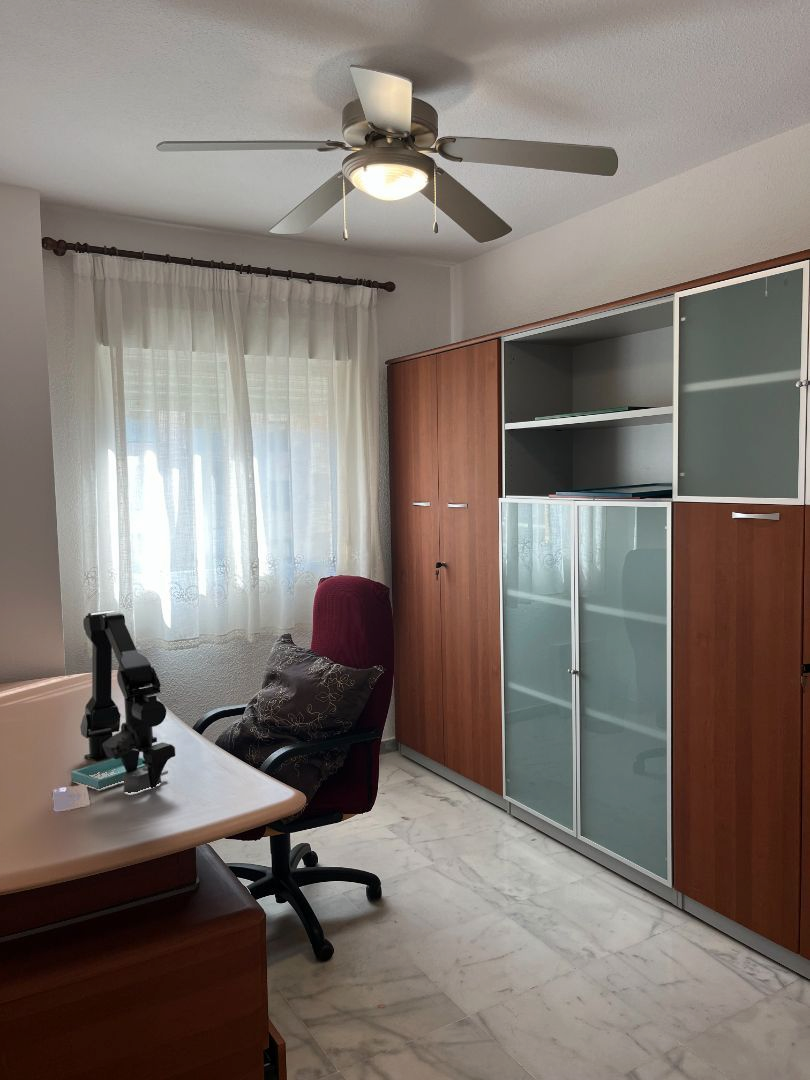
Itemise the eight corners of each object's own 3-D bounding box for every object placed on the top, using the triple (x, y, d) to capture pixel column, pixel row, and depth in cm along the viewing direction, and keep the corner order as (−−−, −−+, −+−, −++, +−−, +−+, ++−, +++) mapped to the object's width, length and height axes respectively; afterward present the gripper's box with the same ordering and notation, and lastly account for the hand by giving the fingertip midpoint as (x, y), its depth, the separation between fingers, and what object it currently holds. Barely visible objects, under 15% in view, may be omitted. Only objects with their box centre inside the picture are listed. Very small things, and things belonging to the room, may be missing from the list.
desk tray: (71, 782, 188) (71, 771, 188) (129, 762, 201) (128, 753, 201) (98, 791, 181) (98, 780, 181) (156, 771, 194) (156, 761, 194)
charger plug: (130, 796, 178) (129, 779, 177) (120, 793, 180) (119, 775, 180) (171, 781, 186) (170, 764, 186) (161, 778, 189) (160, 761, 189)
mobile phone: (53, 810, 170) (51, 788, 183) (54, 814, 170) (51, 792, 183) (91, 803, 173) (86, 782, 186) (91, 807, 173) (86, 786, 187)
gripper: (84, 720, 181) (88, 787, 182) (131, 732, 169) (135, 803, 170) (126, 708, 190) (130, 772, 191) (174, 719, 178) (178, 787, 179)
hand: (142, 783), depth 182 cm, fingers open, 8 cm apart
